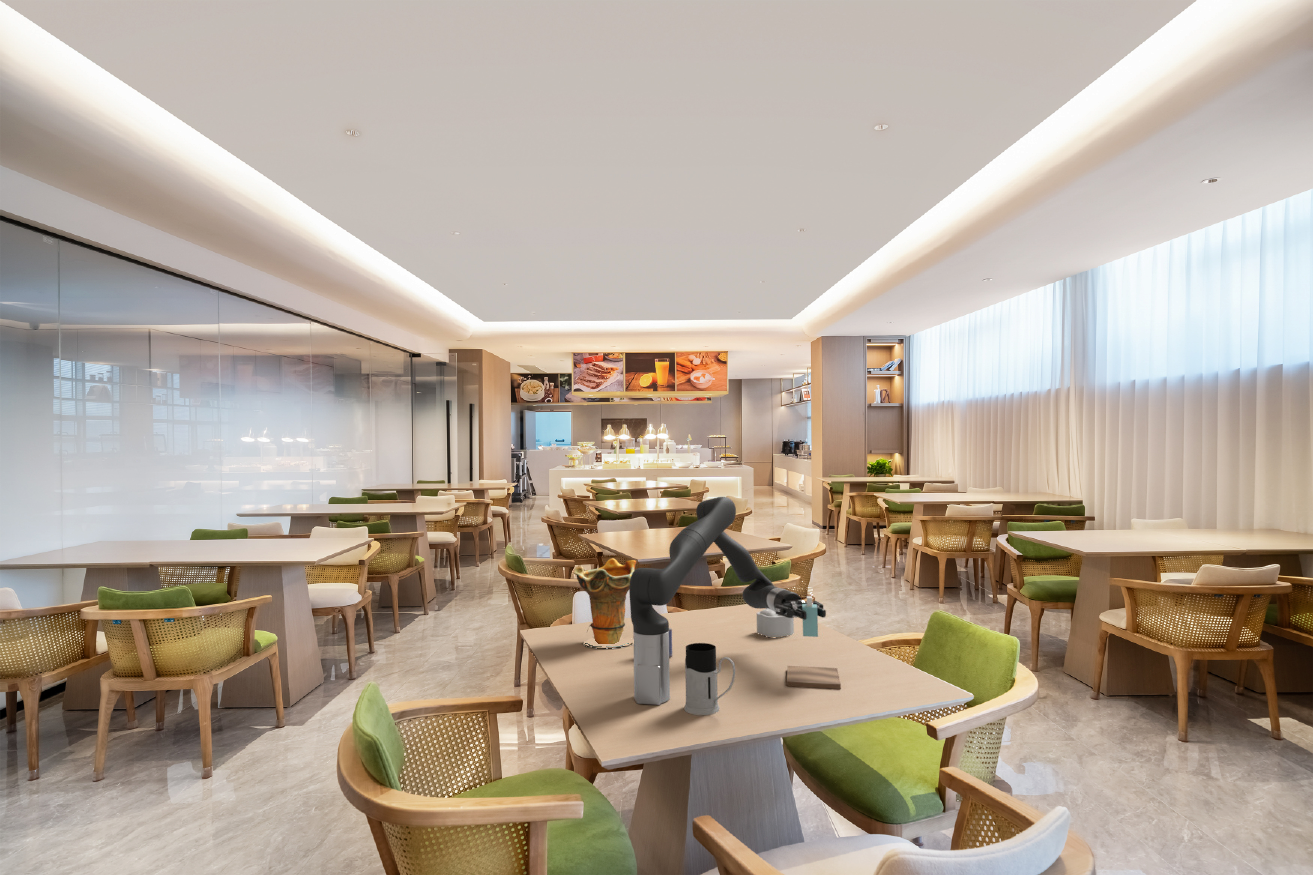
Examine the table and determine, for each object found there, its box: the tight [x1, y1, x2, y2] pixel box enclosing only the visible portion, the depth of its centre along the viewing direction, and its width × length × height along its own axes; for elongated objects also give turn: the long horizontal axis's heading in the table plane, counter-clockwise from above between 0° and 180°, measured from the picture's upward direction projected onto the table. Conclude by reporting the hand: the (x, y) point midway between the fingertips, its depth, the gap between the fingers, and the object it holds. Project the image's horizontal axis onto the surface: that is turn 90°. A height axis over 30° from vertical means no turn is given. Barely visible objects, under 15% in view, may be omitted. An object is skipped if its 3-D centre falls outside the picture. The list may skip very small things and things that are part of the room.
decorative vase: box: [573, 557, 637, 648], centre depth 224 cm, size 21×23×28 cm
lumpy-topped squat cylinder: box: [756, 608, 795, 638], centre depth 232 cm, size 10×13×9 cm
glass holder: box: [683, 642, 736, 716], centre depth 160 cm, size 9×14×15 cm, turn 51°
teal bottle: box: [802, 595, 819, 638], centre depth 184 cm, size 4×4×10 cm
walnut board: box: [786, 665, 842, 690], centre depth 182 cm, size 14×14×1 cm
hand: (814, 614), depth 181 cm, fingers closed on teal bottle, 5 cm apart
